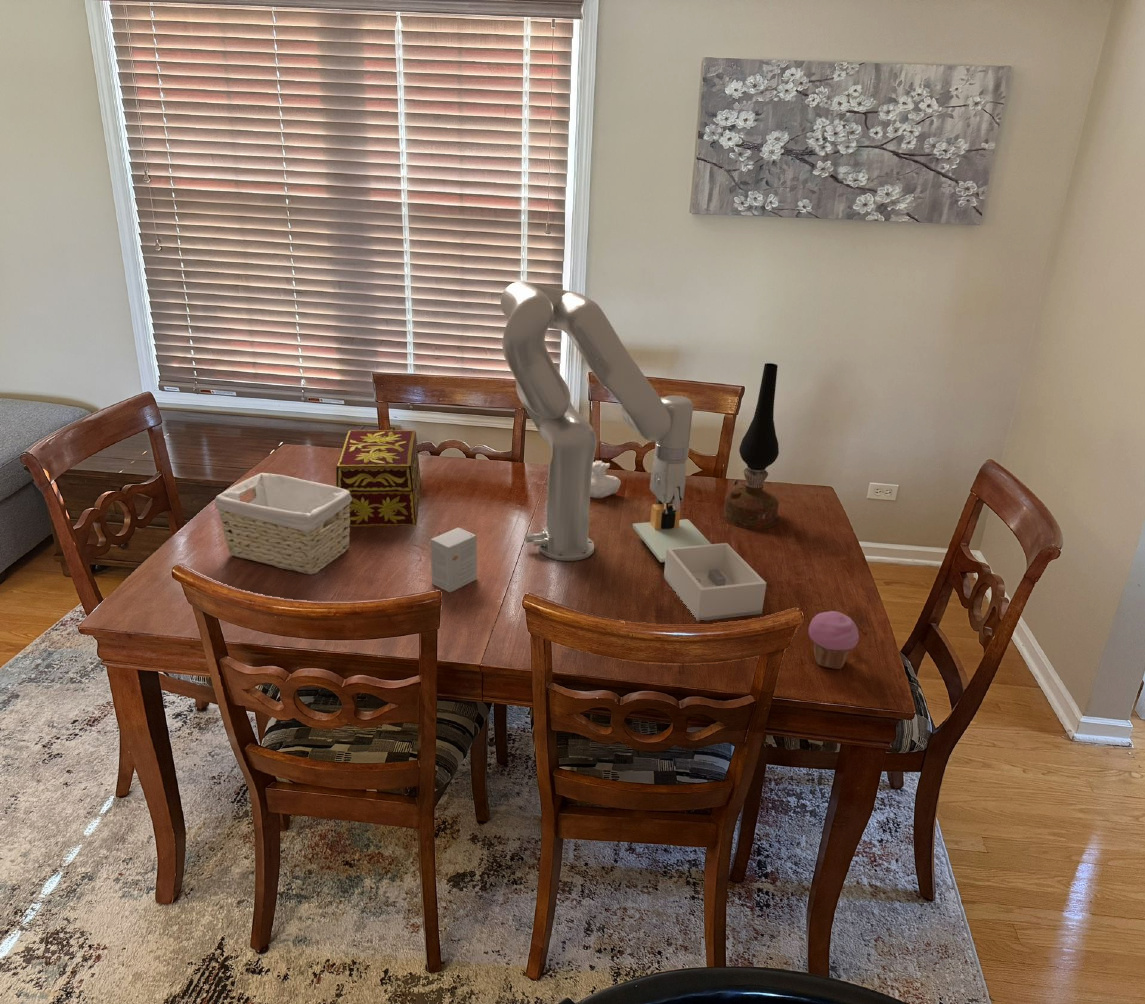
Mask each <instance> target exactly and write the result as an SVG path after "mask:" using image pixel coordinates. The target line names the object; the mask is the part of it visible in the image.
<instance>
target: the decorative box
mask: <svg viewBox="0 0 1145 1004" xmlns="http://www.w3.org/2000/svg"><path fill="white" fill-rule="evenodd" d="M418 452H419V450H418V440H417V432H416V430H410V429H408V430H407V429H406V430H405V429H403V430H401V429H399V430H397V429H395V430H393V429H391V430H388V429H387V430H382V429H381V430H380V429H379V430H376V429H375V430H374V429H373V430H348V433H346V438H345V441H344V443H343V446H342V449H341V452H340V455H339V457H338V460H337V464H336V466H335V467H336V471H335V474H336V475H335V477H336V478H335V480H336V486H335V487H338V488H342V489H345V490H347V491H349V492H350V496H351V497H352V501H351V502H350V504H349V505H350V506H349V508H350V512H349V513H350V517H349V518H350V525H349V528H350V527H351V528H352V527H394V526H395V527H398V526H399V527H400V526H402V527H403V526H404V527H405V526H406V527H408V526H417V524H418V516H419V515H418V514H419V503H420V496H421V495H420V494H421V480H422V479H421V470H420V459H419V453H418Z"/></svg>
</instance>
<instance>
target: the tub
mask: <svg viewBox="0 0 1145 1004" xmlns="http://www.w3.org/2000/svg"><path fill="white" fill-rule="evenodd" d="M663 571H664V573H663V578H664V580H665V581H666V583H667V584H668V585H669V586H670V588H671V587H672V588H671V590H673V592H674V591H675V592H676V593H675V592H674V593H675V595H676V596H677V597H678V596H679V597H680V598H679V597H678V598H679V599H680V601H681V600H682V601H683V602H682V601H681V602H682V603H683V605H684V604H685V605H686V606H687V607H686V606H685V605H684V606H685V607H686V608H687V610H688V609H689V610H690V611H691V612H690V611H689V610H688V611H689V612H690V614H691V613H692V614H691V616H693V615H694V616H693V617H695V618H696V619H695V618H694V619H695V620H696V622H701V621H700V620H705V621H711V620H719V619H728V618H736V617H737V618H738V617H745V616H746V617H747V616H755V615H762V614H763V608H764V601H765V595H766V591H767V582H766V581H765V580H764V578H762V577H761V576H760V575H759V574H758V573H757V572H756V571H755V569H753V568H752V567H751V566H750V565H749V564H748V563H747V561H746V560H745V559H743V558H742V557H741V555H739V553H737V551H736V550H735V549H733V547H732V546H731V545H730V544H729V543H728V542H722V543H713V544H712V543H711V544H709V545H698V546H688V547H677V548H667V549H666V560H665V562H664V570H663Z"/></svg>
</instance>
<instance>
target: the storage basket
mask: <svg viewBox="0 0 1145 1004" xmlns="http://www.w3.org/2000/svg"><path fill="white" fill-rule="evenodd" d="M250 492H252V494H253V499H252V500H251V501H250V502H245V501H241V497H243V496H244V495H247V494H248V493H250ZM214 499H215V502H214V503H215V504H214V505H215V509H216V510H218V512H217V513H218V516H219V519H220V520H221V526H222V530H223V535H224V539H225V540H224V541H225V543H226V546H227V549H228V554H229V555H231V556H234V557H236V558H240V559H245V560H249V561H250V560H251V561H253V562H257V563H261V564H262V563H263V564H266V565H268V566H274V567H277V568H279V569H283V570H289V571H295V572H298V573H302V574H306V575H315V574H317V573H318V572H320V571H321V570H322V569H325V568H326V566H327V565H330V563H332V562H333V561H335V560H336V559H337V558H339V557H340V556H341V555H343V554H344V553H345V552H346V551H347V550H348V549H349V547H350V531H351V529H350V527H349V525H350V518H349V517H350V513H349V512H350V508H349V506H350V505H349V504H350V502H351V501H352V497H351V496H350V492H349V491H347V490H345V489H342V488H338V487H336V486H335V485H330V484H326V483H321V482H316V481H311V480H307V479H306V480H305V479H302V478H297V477H292V476H288V475H283V474H278V473H276V474H275V473H270V472H269V473H267V472H266V473H265V472H260V473H258V474H256V475H254V476H251V477H250V478H247V479H244V480H243V481H240V483H239V482H238V483H237V484H235V485H234V486H231V487H230V488H227V489H226V490H225V491H223V492H222V493H220V494H217V495H216V497H215V498H214Z"/></svg>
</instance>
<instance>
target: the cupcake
mask: <svg viewBox="0 0 1145 1004" xmlns="http://www.w3.org/2000/svg"><path fill="white" fill-rule="evenodd" d="M807 630H808V636H809V638H810V639H811V641H813V655H814V660H815V662H816V663H817V665H819V666H821V667H824V668H830V669H835V670H840V669H842V668H843V667H844V666H845V663H846V660H847V657H848V656H849V653H850V651H851V650H852V649H854V648H855V647H856V646H857V644H858V642H859V640H860V635H859V631H858V630H859V629H858V626H857V624H856V623H855V621H854V620H853V619H852V618H851V617H850V616H848V615H846V614H845V613H842V612H839V611H835V610H829V611H824V612H820V613H817V614H816V615H815V616H814V617H813V618H812V620H811V621H810V624H809V626H808V629H807Z"/></svg>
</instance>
